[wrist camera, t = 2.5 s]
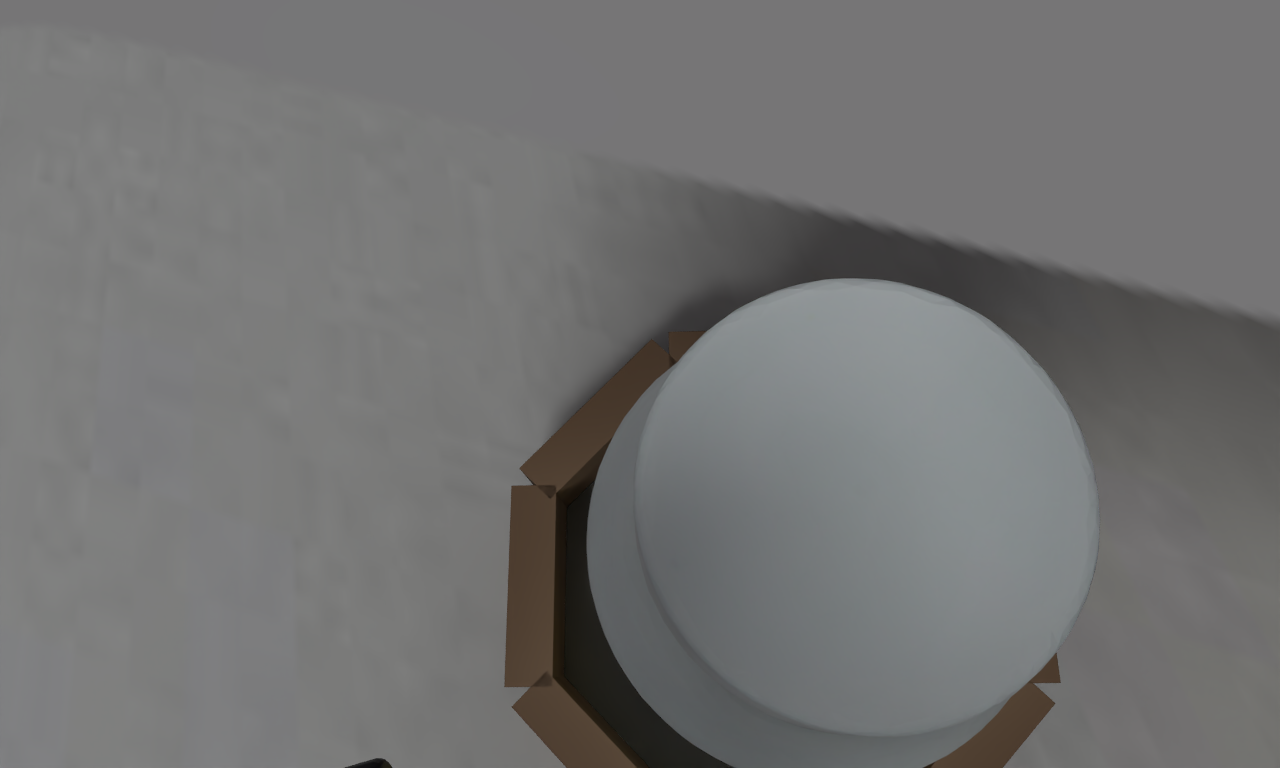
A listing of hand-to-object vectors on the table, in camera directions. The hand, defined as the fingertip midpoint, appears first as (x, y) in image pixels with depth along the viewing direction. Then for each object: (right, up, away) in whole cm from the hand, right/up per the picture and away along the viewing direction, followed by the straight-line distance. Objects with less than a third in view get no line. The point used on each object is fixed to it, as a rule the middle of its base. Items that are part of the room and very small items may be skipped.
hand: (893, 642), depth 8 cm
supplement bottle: (0, -2, +9) cm, 9 cm away
